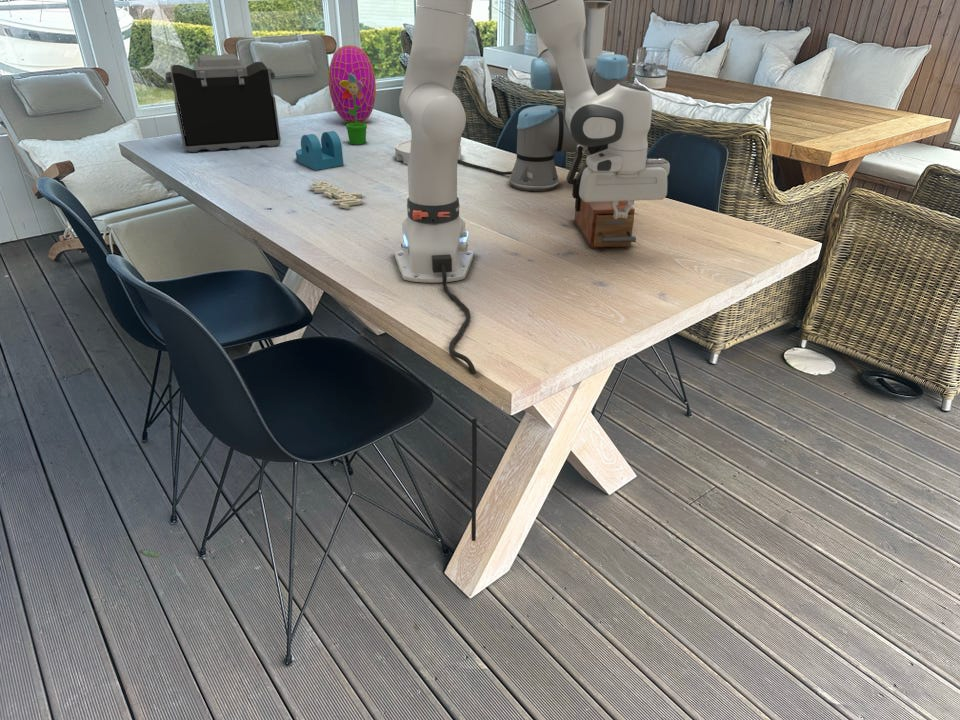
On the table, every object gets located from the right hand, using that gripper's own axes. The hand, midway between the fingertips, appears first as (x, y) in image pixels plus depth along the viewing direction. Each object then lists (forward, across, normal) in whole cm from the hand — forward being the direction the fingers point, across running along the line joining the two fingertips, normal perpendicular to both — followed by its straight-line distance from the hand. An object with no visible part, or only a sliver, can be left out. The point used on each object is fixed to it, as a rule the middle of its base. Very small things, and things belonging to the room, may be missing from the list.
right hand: (597, 209), depth 182 cm
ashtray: (+5, +43, -74) cm, 86 cm away
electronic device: (+5, +117, -99) cm, 153 cm away
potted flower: (+5, +69, -97) cm, 120 cm away
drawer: (+4, 0, +11) cm, 11 cm away
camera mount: (+5, +82, -69) cm, 107 cm away
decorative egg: (+5, +73, -134) cm, 153 cm away
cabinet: (+5, 0, +6) cm, 7 cm away
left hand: (-4, 0, +20) cm, 20 cm away
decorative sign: (+5, +71, -31) cm, 78 cm away
